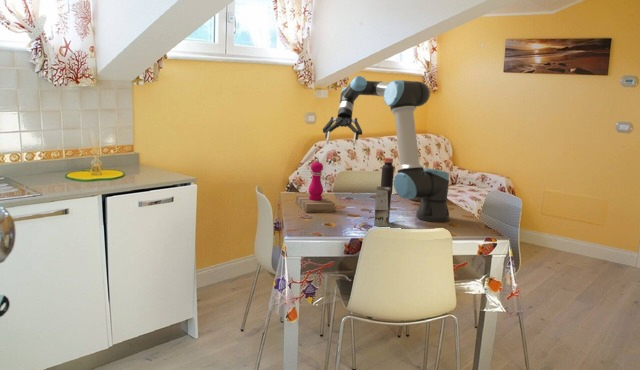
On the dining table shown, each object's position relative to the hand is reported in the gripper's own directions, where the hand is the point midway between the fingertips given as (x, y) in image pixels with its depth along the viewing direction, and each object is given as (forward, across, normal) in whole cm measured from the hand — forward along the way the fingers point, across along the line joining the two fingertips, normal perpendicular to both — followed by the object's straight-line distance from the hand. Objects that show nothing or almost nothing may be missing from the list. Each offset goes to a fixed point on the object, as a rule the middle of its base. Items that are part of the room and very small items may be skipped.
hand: (340, 143), depth 265 cm
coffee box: (+47, -24, +4) cm, 53 cm away
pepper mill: (+29, +9, -8) cm, 32 cm away
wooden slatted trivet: (+32, +10, -11) cm, 35 cm away
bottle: (-5, -23, -49) cm, 55 cm away
